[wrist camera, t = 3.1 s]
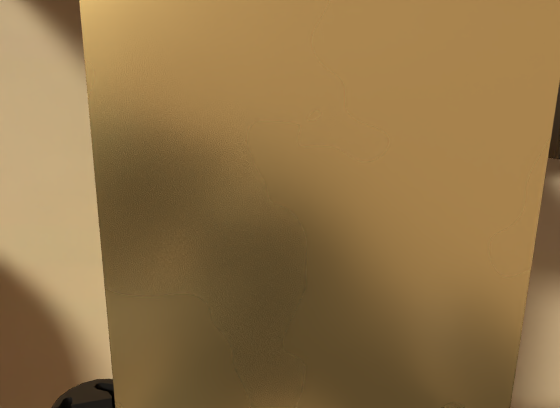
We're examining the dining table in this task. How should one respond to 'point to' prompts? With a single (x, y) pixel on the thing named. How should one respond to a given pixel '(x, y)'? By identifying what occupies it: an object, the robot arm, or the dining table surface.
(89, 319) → the dining table surface
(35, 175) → the dining table surface
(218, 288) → the link bar
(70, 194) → the dining table surface
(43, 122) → the dining table surface
